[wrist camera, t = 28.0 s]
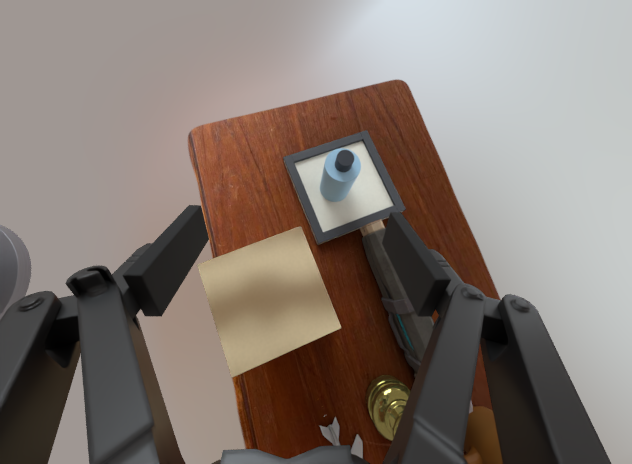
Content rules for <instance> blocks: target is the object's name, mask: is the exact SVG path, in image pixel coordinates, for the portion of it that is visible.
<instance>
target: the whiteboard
mask: <svg viewBox="0 0 632 464" xmlns="http://www.w3.org/2000/svg"><path fill="white" fill-rule="evenodd" d="M339 148H344V149H348V150H351V151H353V152H354V153H355V154H356V155H357V156H358V158H359V159H360V162H361V170H360V173H359V175H358V176H357V178H356V180H355V182H354V184H353V185H352V187H351V189H350V191H349V193H348V194H347V196H346V197H345V198H344V199H343V200H341V201H338V202H332V201H329V200H327V199H325V198H324V197H323V196H322V194H321V192H320V183H321V178H322V173H323V169H324V164H325V160H326V157H327V155H328V154H329V153H330V152H331V151H333V150H335V149H339ZM283 160H284V164H285V166H286V169H287V171H288V174H289V176H290V178H291V181H292V183H293V186H294V188H295V191H296V193H297V196H298V198H299V201H300V203H301V206H302V208H303V210H304V213H305V215H306V218H307V220H308V223H309V225H310V228H311V230H312V233H313V235H314V238H315V240H316V242H317V245H319V244H322V243H324V242H327V241H329V240H332V239H335V238H337V237H340V236H342V235H345V234H347V233H350V232H352V231H355V230H358V229H360V228H361V227H363V226H365V225H367V224H369V223H371V222H374V221H376V220H379V219H381V220H383V219H386V218H388V217H389V216H390V212H397V213H401V212H403V211H404V210H406V209H405V207H404V205H403V203H402V201H401V199H400V197H399V195H398V193H397V191H396V188H395V186H394V184H393V182H392V180H391V178H390V176H389V174H388V172H387V170H386V168H385V166H384V164H383V162H382V160H381V158H380V156H379V154H378V152H377V150H376V148H375V146H374V144H373V142H372V140H371V138H370V136H369V134H368V132H367V130H366V131H363V132H360V133H357V134H354V135H351V136H347V137H344V138H341V139H338V140H335V141H332V142H329V143H326V144H323V145H320V146H317V147H314V148H310V149H307V150H304V151H301V152H298V153H295V154H292V155H289V156H285V157H283Z"/></svg>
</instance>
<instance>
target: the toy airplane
mask: <svg viewBox="0 0 632 464" xmlns="http://www.w3.org/2000/svg"><path fill="white" fill-rule="evenodd" d="M322 407H323V406H322ZM324 417H325V415H324ZM319 426H320V425H319ZM320 429H321V431H322V434H323V436H324V437H325V438H327V439H328V440H329V441H330V442H332V443H333V446H340V443H339V440H338V439H339V424H338V422H337V419H336V417H335V419H334V421H333V424H332V425H328V427H323V426H320ZM351 454H354V455H357V456H359V457H361V458H362V459H363V442H362V440H361V439H360V437H359V435H358V434H357V436H356V438H355V441H354V444H353V446H352V449H351Z"/></svg>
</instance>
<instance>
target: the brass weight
mask: <svg viewBox="0 0 632 464" xmlns="http://www.w3.org/2000/svg"><path fill="white" fill-rule="evenodd" d="M410 392H411V391H410V390H409V389H408V388H407V386H406V385H404V384H403V383H402V382H401V381H400V380H399V379H397V378H396V377H394V376H390V375H382V376H379V377H377V378H376V379H374V380H373V381H372V382H371V383H370V385H369V387H368V389H367V392H366V399H365V400H366V407H367V410H368V412H369V414H370V417H371V419H372V421H373V423H374V425H375V427H376V429H377V430H378V432H379V433H380V434H381V435H382V436H383V437H384V438H385V439H387V440H389V441H391V442H392V441H393V438H394V436H395V433H396V430H397V427H398V425H399V422H400V419H401V416H402V414H403V411H404V408H405V405H406V403H407V400H408V397H409V394H410Z"/></svg>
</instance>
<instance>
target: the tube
mask: <svg viewBox="0 0 632 464" xmlns="http://www.w3.org/2000/svg"><path fill="white" fill-rule="evenodd" d="M360 230H361V232H362V235H363V238H362V242H363V245H364V249H365V252H366V256H367V259H368V262H369V264H370V266H371V269H372V271H373V274H374V276H375V278H376V281H377V283H378V286H379V288H380V290H381V293H382V295H383V297H382V298H381V300H382V302H383V305H384V307H385V310H387V311H388V313H389V319H388V320H389V323H390V325H391V328H392V330H393V332H394V335H395V337H396V340H397V342H398V344H399V347H401V348H402V349H404V351H405V352H404V356H405V358H406V360H407V363H408V364H409V365H410V366H411V367H413V369H414V372H415V373H414V377H415V378H416V375H417V373H418V370H419V367H420V364H421V362H422V359H423V356H424V353H425V351H426V348H427V345H428V342H429V340H430V337H431V334H432V331H433V329H432V327H433V325H434V322H433V320H432V317H418V316H417V314H416V312H415V310H414V308H413V306H412V304H411V302H410V300H409V298H408V296H407V294H406V292H405V290H404V288H403V286H402V284H401V282H400V280H399V277H398V275H397V273H396V271H395V269H394V267H393V265H392V263H391V261H390V259H389V257H388V255H387V253H386V251H385V249H384V247H383V245H382V241H383V237H384V234H385V230H386V228H385V227H384V225H383V222H382V220H381V219H379V220H376V221H374V222H371V223H369V224H367V225H365V226H363V227H361V228H360ZM393 321H394V322H393ZM398 333H399V334H398ZM403 345H404V346H403ZM471 412H473V408H472V402H470V409H469V413H471Z"/></svg>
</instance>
